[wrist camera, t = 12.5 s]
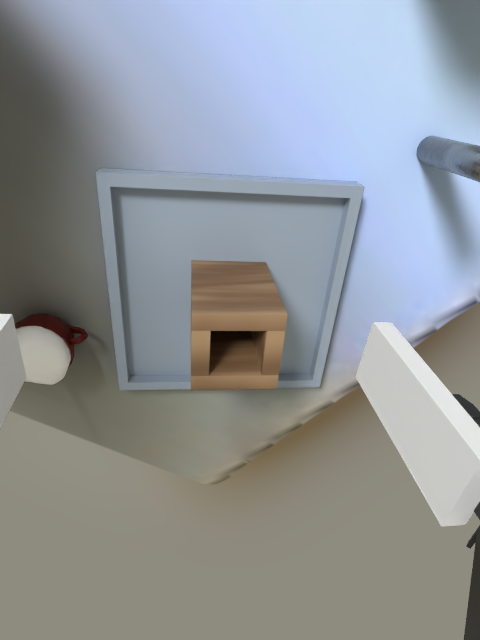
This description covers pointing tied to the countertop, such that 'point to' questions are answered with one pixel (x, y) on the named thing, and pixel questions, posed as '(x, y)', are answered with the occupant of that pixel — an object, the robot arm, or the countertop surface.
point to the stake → (451, 156)
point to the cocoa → (46, 347)
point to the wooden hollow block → (235, 326)
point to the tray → (220, 245)
